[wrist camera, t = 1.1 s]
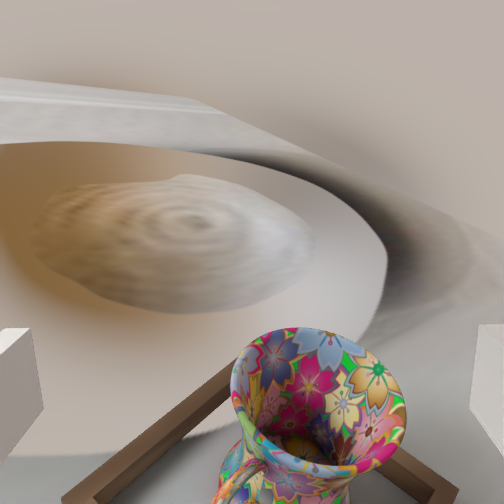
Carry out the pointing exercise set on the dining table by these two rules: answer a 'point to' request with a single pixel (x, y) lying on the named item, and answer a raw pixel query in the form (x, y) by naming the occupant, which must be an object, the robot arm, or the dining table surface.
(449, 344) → the dining table surface
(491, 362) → the robot arm
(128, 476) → the frame
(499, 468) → the dining table surface
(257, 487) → the mug
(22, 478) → the dining table surface
